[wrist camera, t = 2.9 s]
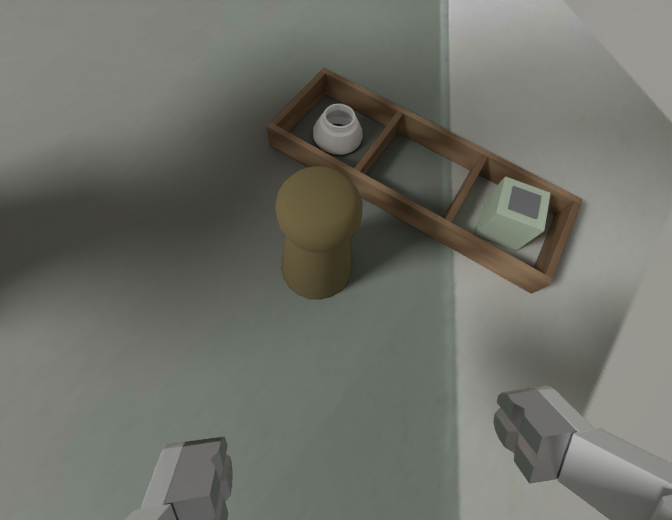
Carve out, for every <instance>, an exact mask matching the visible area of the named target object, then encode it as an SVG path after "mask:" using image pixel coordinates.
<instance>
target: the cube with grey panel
mask: <svg viewBox="0 0 672 520" xmlns="http://www.w3.org/2000/svg"><path fill="white" fill-rule="evenodd" d="M549 199H550V192H547V191H544V190H541V189H539V188H536V187H533V186H530V185H528V184H525V183H522V182H519V181H516V180H514V179H511V178H508V177H504V178H503V180H502V181H501V182H500V183H499V184H498V185H497V186H496V188H495V189H494V190H493V191H492V192H491V193H490V194H489V196H488V197H487V198H486V199H485V200H484V201H483V205H482V209H481V213H480V216H479V220H478V224H477V228H476V232H475V235H477V236H479V237H482V238H484V239H487V240H490V241H492V242H495V243H498V244H500V245H503V246H505V247H508V248H511V249H513V250H516V251H517V250H518V249H520V248H521V247H522V246H524V245H525V244H527V243H528V242H529V241H531V240H532V239H534V238H535V237H536V236H538V235H539V234H541V233H542V232H543V231H544V229H545V223H546V217H547V211H548V205H549Z"/></svg>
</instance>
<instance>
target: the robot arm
mask: <svg viewBox="0 0 672 520" xmlns="http://www.w3.org/2000/svg"><path fill="white" fill-rule="evenodd" d="M497 403H498V405H499V406H500V408H499V409H498V410H497V412H496V413H495V415H494V426H495V431H496V433H497V435H498V438H499V439H500V441H501V443H502V444H503V446H504V447H505V448H507V449H509V450H510V451H512V452H513V453H514V462H515V463H516V465H517V466H518V468H519V469H520V471H521V472H522V473H523V475H524V476H525V478H526V479H527V481H528V482H529V484H530V483H536V482H542V481H549V480H555V479H558V481H559V482H560V483H561V484H563V485H564V486H566V487H567V488H568V489H570V490H571V491H572V492H574V493H575V494H576V495H578V496H579V497H580V498H582V499H583V500H584V501H586V502H587V503H588V504H590V505H591V506H592V507H594V508H595V509H596V510H598V511H599V512H600V513H602V514H603V515H604V516H606V517H607V518H609V519H610V520H672V463H670V462H668V461H666V460H664V459H662V458H659V457H657V456H655V455H653V454H651V453H649V452H647V451H645V450H643V449H641V448H639V447H637V446H635V445H633V444H631V443H629V442H627V441H625V440H623V439H621V438H619V437H617V436H615V435H612V434H610V433H608V432H606V431H604V430H602V429H594V428H593V426H591V425H590V424H589V423H588V422H587V421H586V420H585V419H584V418H583V417H582V416H581V415H580V414H579V413H578V412H577V411H576V410H575V409H574V408H573V407H572V406H571V405H570V404H569V403H568V402H567V401H566V400H565V399H564V398H563V397H562V396H561V395H560V394H559V393H558V392H557V391H556V390H555V389H554V388H552V387H550V386H548V385H547V386H540V387H534V388H526V389H520V390H515V391H509V392H503V393H501V394H500V395H499V396H498V399H497ZM226 451H227V442H226V439H225V437H217V438H210V439H202V440H194V441H186V442H180V443H173V444H167V445H166V446H165V447H164V449H163V450H162V452H161V455H160V458H159V460H158V463H157V466H156V468H155V471H154V474H153V476H152V479H151V482H150V484H149V487H148V490H147V492H146V495H145V498H144V500H143V503H142V506H141V508H140V509H138V510H134V511H133V512H132V513H131V514H130V515H129V516H128V517H127V518H126V519H125V520H227V518H228V510H227V507H226V503H225V502H226V501H227V499H228V498H229V497H230V495H231V489H232V474H233V471H232V462H231V458H230V456H229V455H227V454H226Z"/></svg>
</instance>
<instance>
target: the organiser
mask: <svg viewBox="0 0 672 520" xmlns="http://www.w3.org/2000/svg"><path fill="white" fill-rule="evenodd" d="M324 94H326V95H327V96H329V97H331V98H333V99H335V100H337V101H339V102H341V103H343V104H345V105H347V106H349V107H350V108H352V109H354V110H356V111H358V112H360V113H362V114H364V115H366V116H368V117H370V118H371V119H373V120H375V121H377V122H379V123H381V124H383V125H385V126H386V127H385V128H384V130H383V131H382V132H381V134H380V135H379V136H378V138H377V139H376V140H375V142H374V143H373V144H372V146H371V147H370V148H369V149H368V151H367V152H366V153H365V155H364V156H363V157H362V159H361V160H360V161H359V163H358V164H357V165H356V166H355V168H352V167H350V166H349V165H347V164H345V163H343V162H341V161H340V160H338V159H336V158H334V157H332V156H331V155H329V154H327V153H325V152H323V151H322V150H320V149H318V148H316V147H314V146H313V145H311V144H309V143H307V142H305V141H304V140H302V139H300V138H298V137H296V136H295V135H293V134H291V133H289V132H290V131H291V130H292V129H293V128H294V127H295V126H296V125H297V124H298V122H299V121H300V120H301V119H302V118H303V117H304V116H305V115H306V114H307V113H308V112H309V111H310V109H311V108H312V107H313V106H314V105H315V104H316V103H317V102H318V101H319V100H320V99H321V97H322V96H323V95H324ZM267 130H268V136H269V142H270V146H272V147H274V148H276V149H277V150H279V151H281V152H283V153H285V154H286V155H288V156H290V157H292V158H293V159H295V160H297V161H299V162H300V163H302V164H304V165H306V166H307V167H313V166H322V167H329V168H332V169H335V170H338V171H340V172H341V173H343V174H344V175H345V176H347V177H348V178H349V179H350V180H351V181H352V182H353V184H354V185H355V186H356V187H357V189H358V191H359V194H360V197H362V198H364V199H366V200H367V201H369V202H371V203H373V204H374V205H376V206H378V207H380V208H381V209H383V210H385V211H387V212H389V213H390V214H392V215H394V216H396V217H397V218H399V219H401V220H403V221H404V222H406V223H408V224H410V225H411V226H413V227H415V228H417V229H419V230H420V231H422V232H424V233H426V234H427V235H429V236H431V237H433V238H434V239H436V240H438V241H440V242H441V243H443V244H445V245H447V246H448V247H450V248H452V249H454V250H456V251H457V252H459V253H461V254H463V255H464V256H466V257H468V258H470V259H471V260H473V261H475V262H477V263H478V264H480V265H482V266H484V267H486V268H487V269H489V270H491V271H493V272H494V273H496V274H498V275H500V276H501V277H503V278H505V279H507V280H508V281H510V282H512V283H514V284H515V285H517V286H519V287H521V288H523V289H524V290H526V291H528V292H530V293H533V292H535V291H538V290H540V289H542V288H544V287H546V286H548V285H550V284H551V282H552V279H553V276H554V274H555V271H556V268H557V266H558V263H559V260H560V258H561V255H562V252H563V250H564V247H565V244H566V242H567V239H568V236H569V234H570V231H571V228H572V226H573V223H574V220H575V218H576V215H577V213H578V210H579V207H580V205H581V202H582V199H581V198H579V197H577V196H575V195H573V194H571V193H569V192H567V191H565V190H563V189H561V188H559V187H557V186H555V185H553V184H551V183H550V182H548V181H546V180H544V179H542V178H540V177H538V176H536V175H534V174H532V173H530V172H528V171H526V170H524V169H522V168H520V167H518V166H516V165H514V164H512V163H510V162H508V161H506V160H504V159H502V158H500V157H498V156H496V155H495V154H493V153H491V152H489V151H487V150H485V149H483V148H481V147H479V146H477V145H475V144H473V143H471V142H469V141H467V140H465V139H463V138H461V137H459V136H457V135H455V134H453V133H451V132H449V131H447V130H445V129H443V128H441V127H440V126H438V125H436V124H434V123H432V122H430V121H428V120H426V119H424V118H422V117H420V116H418V115H416V114H414V113H412V112H410V111H408V110H406V109H404V108H402V107H400V106H398V105H396V104H394V103H392V102H390V101H388V100H386V99H385V98H383V97H381V96H379V95H377V94H375V93H373V92H371V91H369V90H367V89H365V88H363V87H361V86H359V85H357V84H355V83H353V82H351V81H349V80H347V79H345V78H343V77H341V76H339V75H337V74H335V73H333V72H331V71H330V70H328V69H326V68H323V69H322V70H321V71H320V72H319V73H318V74H317V75H316V76H315V77H314V78H313V79H312V80H311V81H310V82H309V83H308V84H307V86H306V87H305V88H304V89H303V90H302V91H301V92H300V93H299V94H298V95H297V96H296V97H295V98H294V99H293V100H292V101H291V102H290V103H289V104H288V105H287V106H286V107H285V108H284V109H283V110H282V111H281V112H280V113H279V114H278V115H277V116H276V118H275V119H274V120H273V121H272V122H271V123H270V124H269V125H268V126H267ZM397 132H398V133H400V134H402V135H404V136H406V137H408V138H410V139H412V140H413V141H415V142H417V143H419V144H421V145H423V146H425V147H427V148H429V149H431V150H433V151H435V152H436V153H438V154H440V155H442V156H444V157H446V158H448V159H450V160H452V161H454V162H456V163H457V164H459V165H461V166H463V167H465V168H467V169H469V170H471V171H470V172H469V174H468V176H467V178H466V179H465V181H464V183H463V185H462V186H461V188H460V190H459V192H458V193H457V195H456V197H455V199H454V200H453V202H452V204H451V206H450V207H449V209H448V211H447V212H446V214H445V216H444V218H442V217H441V216H439V215H437V214H435V213H433V212H432V211H430V210H428V209H426V208H424V207H423V206H421V205H419V204H417V203H415V202H414V201H412V200H410V199H408V198H406V197H405V196H403V195H401V194H399V193H397V192H396V191H394V190H392V189H390V188H388V187H387V186H385V185H383V184H381V183H379V182H377V181H376V180H374V179H372V178H370V177H368V176H367V175H366V174H367V173H368V171H369V170H370V169H371V167H372V166H373V165H374V163H375V162H376V160H377V159H378V158H379V156H380V155H381V154H382V152H383V151H384V150H385V148H386V147H387V146H388V144H389V143H390V141H391V140H392V139H393V137H394V136H395V135H396V133H397ZM478 175H480V176H482V177H484V178H486V179H488V180H490V181H492V182H494V183H496V184H499V183H500V182H501V181H502V180H503V178H504V177H508V178H511V179H514V180H516V181H519V182H522V183H525V184H528V185H530V186H533V187H536V188H539V189H541V190H544V191H547V192H550V199H549V205H548V211H549V212H551V213H553V214H555V217H554V220H553V222H552V224H551V227H550V229H549V232H548V234H547V237H546V239H545V242H544V244H543V247H542V249H541V251H540V254H539V256H538V259H537V261H536V264H535V266H534V268H533V267H531V266H529V265H527V264H525V263H524V262H522V261H520V260H518V259H516V258H515V257H513V256H511V255H509V254H507V253H506V252H504V251H502V250H500V249H498V248H497V247H495V246H493V245H491V244H489V243H488V242H486V241H484V240H482V239H480V238H479V237H477V236H475V235H473V234H471V233H470V232H468V231H466V230H464V229H462V228H460V227H459V226H457V225H455V224H453V223H452V221H453V219H454V217H455V215H456V214H457V212H458V210H459V208H460V206H461V205H462V203H463V201H464V199H465V197H466V196H467V194H468V192H469V190H470V188H471V187H472V185H473V183H474V181H475V180H476V178H477V176H478Z"/></svg>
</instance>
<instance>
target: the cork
mask: <svg viewBox="0 0 672 520" xmlns="http://www.w3.org/2000/svg"><path fill="white" fill-rule="evenodd" d="M275 212H276V217H277V221H278V225H279V227H280V229H281V230H282V232H283V233H284V235H285V242H284V250H283V258H282V267H281V269H282V273H283V278H284V280H285V281H286V283H287V285H288V286H289V288H290V289H292V290H293V291H294V292H295V293H297V294H298V295H300V296H303V297H305V298H308V299H324V298H328V297H332V296H333V295H335V294H336V293H338V292H340V291H341V290H342V289H343V287H344V286H345V285H346V284H347V283H348V280H349V277H350V275H351V240H350V239H351V237H352V236H353V235H354V234H355V233H356V231H357V229H358V226H359V224H360V221H361V218H362V200H361V197H360V194H359V191H358V189H357V187H356V186H355V185H354V184H353V182H352V181H351V180H350V179H349V178H348V177H347V176H345V175H344V174H343V173H341V172H340V171H338V170H335V169H332V168H329V167H322V166H313V167H308V168H304V169H302V170H300V171H298V172H296V173H294V174H293V175H291V176H290V177H289V178H288V179H287V180H286V181H285V182H284V183H283V184H282V186H281V188H280V190H279V192H278V194H277V198H276V206H275Z"/></svg>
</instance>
